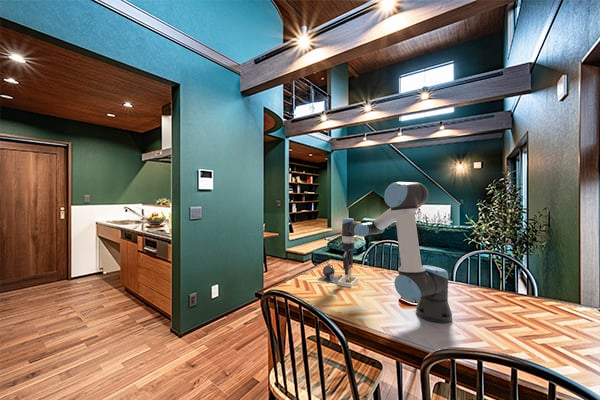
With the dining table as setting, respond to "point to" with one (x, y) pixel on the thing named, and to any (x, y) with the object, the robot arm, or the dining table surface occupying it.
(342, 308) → the dining table surface
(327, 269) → the pulley block
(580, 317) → the dining table surface
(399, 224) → the robot arm
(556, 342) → the dining table surface
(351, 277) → the tray
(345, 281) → the lock pin
